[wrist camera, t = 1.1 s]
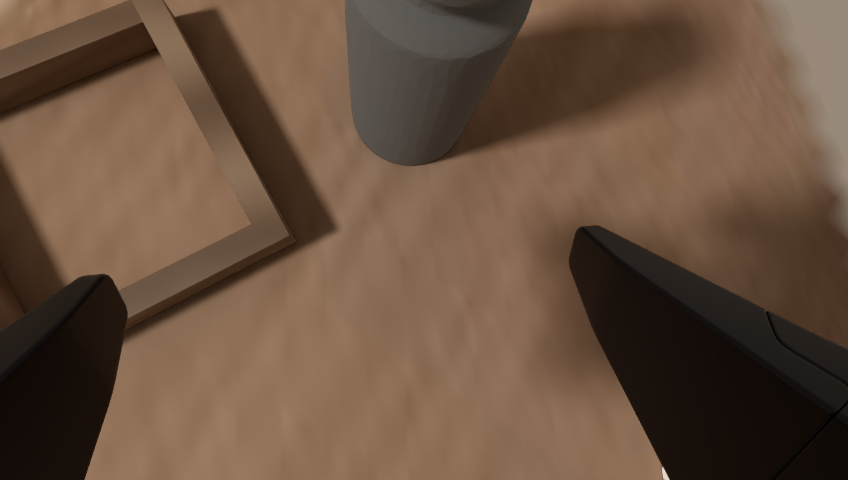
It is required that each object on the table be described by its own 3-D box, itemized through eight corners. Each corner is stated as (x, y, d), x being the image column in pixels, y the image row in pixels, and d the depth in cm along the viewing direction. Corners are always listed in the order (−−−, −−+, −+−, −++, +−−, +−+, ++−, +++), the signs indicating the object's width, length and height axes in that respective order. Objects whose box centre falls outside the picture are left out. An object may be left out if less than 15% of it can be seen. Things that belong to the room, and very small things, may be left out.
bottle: (402, 38, 25) (461, -360, 10) (486, 110, 25) (667, -179, 10) (327, 114, 24) (266, -207, 9) (414, 190, 24) (499, -4, 9)
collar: (296, 241, 22) (289, 235, 20) (23, 382, 20) (-14, 390, 18) (174, 16, 23) (156, -11, 21) (-102, 126, 21) (-150, 108, 19)
